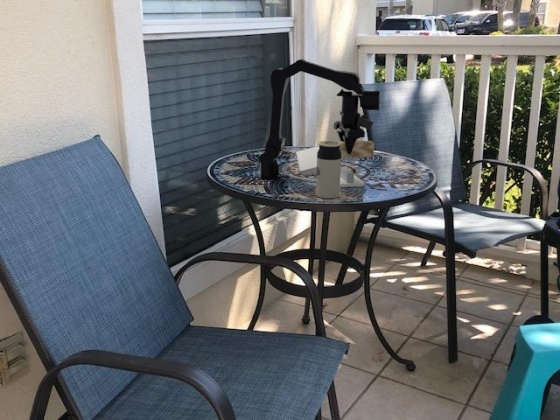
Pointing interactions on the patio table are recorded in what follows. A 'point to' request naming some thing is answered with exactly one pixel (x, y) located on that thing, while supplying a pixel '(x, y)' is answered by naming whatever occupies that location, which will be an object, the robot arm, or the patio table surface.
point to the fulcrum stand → (349, 178)
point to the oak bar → (358, 149)
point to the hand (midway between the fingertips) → (347, 152)
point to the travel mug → (328, 169)
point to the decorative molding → (308, 161)
